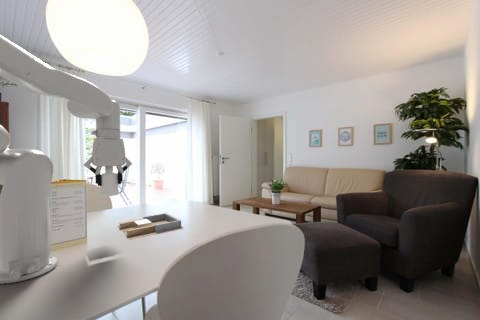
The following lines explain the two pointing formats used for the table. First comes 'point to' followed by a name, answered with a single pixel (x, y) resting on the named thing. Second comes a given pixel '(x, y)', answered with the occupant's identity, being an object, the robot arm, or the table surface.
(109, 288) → the table surface
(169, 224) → the grey tray
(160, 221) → the slotted board
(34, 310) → the table surface
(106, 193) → the eye dropper bottle
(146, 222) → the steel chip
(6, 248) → the robot arm
